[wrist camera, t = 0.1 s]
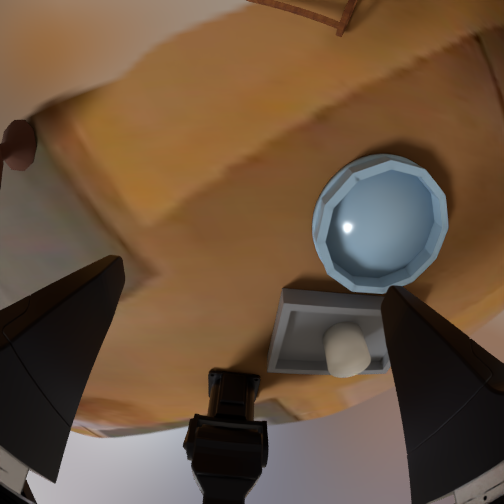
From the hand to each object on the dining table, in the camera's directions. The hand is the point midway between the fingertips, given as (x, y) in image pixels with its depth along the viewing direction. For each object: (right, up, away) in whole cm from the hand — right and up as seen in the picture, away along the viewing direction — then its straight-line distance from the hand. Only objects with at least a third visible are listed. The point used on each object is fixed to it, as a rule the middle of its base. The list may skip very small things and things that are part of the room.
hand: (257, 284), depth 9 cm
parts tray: (+10, -8, +21) cm, 24 cm away
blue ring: (+11, +3, +14) cm, 18 cm away
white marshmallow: (+10, -8, +20) cm, 24 cm away
